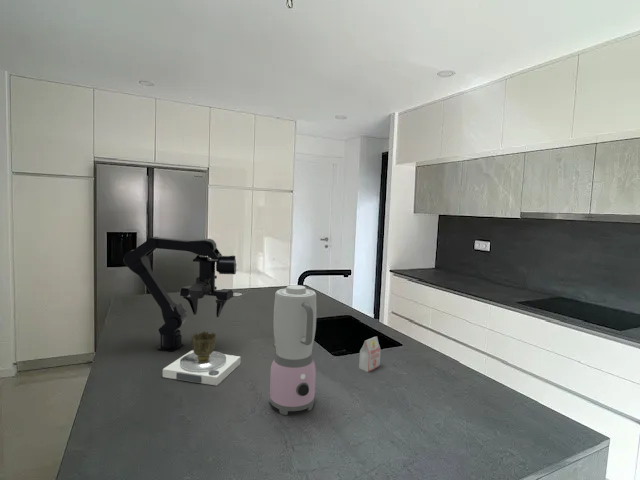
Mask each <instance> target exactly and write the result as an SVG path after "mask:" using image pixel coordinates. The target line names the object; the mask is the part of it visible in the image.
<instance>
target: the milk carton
mask: <svg viewBox="0 0 640 480" xmlns="http://www.w3.org/2000/svg"><path fill="white" fill-rule="evenodd" d="M381 352H382V351H381V346H380V344H379V339H378V336H373V337H371V338H368V339H366V340H364V342H363V345H362V347H361V348H360V350H359V359H358V360H359V361H358V363H359V364H358V369H359V370H362V371H364V372H366V373H369V372H371V371H374V370H375V369H377V368H379V367H380V365H381Z"/></svg>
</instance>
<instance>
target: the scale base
mask: <svg viewBox="0 0 640 480" xmlns="http://www.w3.org/2000/svg"><path fill="white" fill-rule="evenodd" d="M191 353H194V351H193V349H191V350H190V351H188V352H187V353H185V354H184V355H181V356H180V357H179V358H178V359H176V360H174V361H172V363H170V364H168V365H167V366H165V367H164V368H163V369H162V378H166V379H172V380H179V381H186V382H191V383H197V384H203V385H211V386H218V385H219V384H220V383H222V382H223V380H225V379H226V378H227V377H228V376H229V375H230V374H232V372H233V371H235V369H237V368H238V367H240V365H241V359H242V358H241V357H242V356H241V355H240V356H239V355H232V354H226V353H223V354H224V355H225V356H226V363H225V364H224V365H223V366H222V367H220V368H218V369H216V370H212V371H207V372H190V371H186V370H184V369H182V368H181V367H180V360H181V359H182V358H183V357H184V356H186V355H188V354H191Z"/></svg>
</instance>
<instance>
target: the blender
mask: <svg viewBox="0 0 640 480" xmlns="http://www.w3.org/2000/svg"><path fill="white" fill-rule="evenodd" d="M317 309H318V308H317V293H316V292H315V290H313V289H309V288H307V287H306V286H304V285H299V284H298V285H297V284H294V285H287V286H286V287H285V288H281V289H278V290H276V292H275V294H274V304H273V324H272V325H273V338H274V344H275V346H274V347H275V356H274V359H273V360H272V363H271V366H270V378H269V379H270V380H269V381H270V382H269V384H270V385H269V388H270V389H269V403H270V405H271V406H273V407H274V408H276V409H278V410H279V414H281V415H284V416H288V414H289V412H297V411H298V412H299V411H304V410H306V411H308V412H310V411H312V409H313V407H314V404H315V403H314V402H315V401H316V400H315V399H316V395H315V393H316V392H315V391H316V364H315V360H314V359H313V356H312V355H313V354H312V353H313V351H312V350H313V347H314V342H315V336H316V330H317V311H318V310H317Z"/></svg>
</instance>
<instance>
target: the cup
mask: <svg viewBox="0 0 640 480" xmlns="http://www.w3.org/2000/svg"><path fill="white" fill-rule="evenodd" d="M216 337H217V334H216V333H215V332H211V333H209V331H205V330H204V331H202V332H200V331H198V334H197V332H196V333H195V332H194V333H193V334H192V335H191V343H192V350H193V351H194V353H195V354H196V355H197V356H198V357H197V358H198V360H200V361H206V360H208V359H209V357H210V356H209V355H210V354H211V353H212V352H213V351H215V350H214V349H215V344H216Z"/></svg>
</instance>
